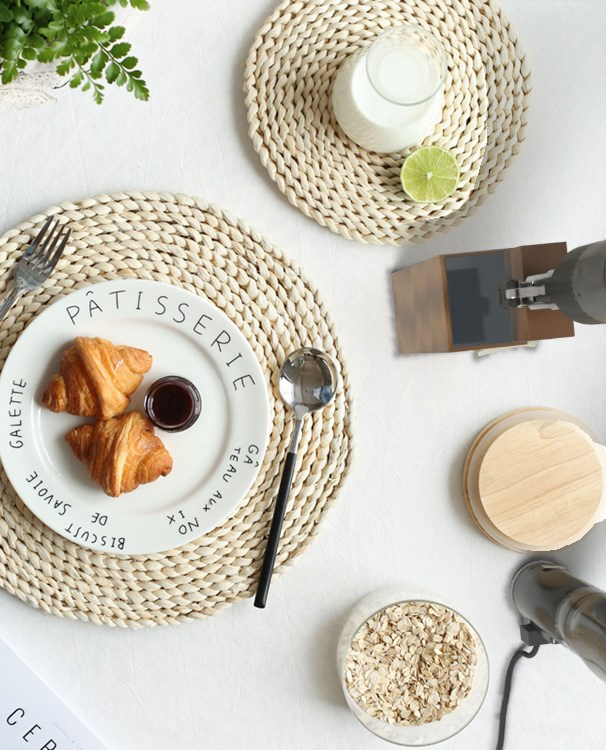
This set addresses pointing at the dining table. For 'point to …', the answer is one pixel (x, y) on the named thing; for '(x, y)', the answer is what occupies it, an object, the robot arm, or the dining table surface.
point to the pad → (476, 300)
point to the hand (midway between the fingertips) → (531, 295)
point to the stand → (428, 307)
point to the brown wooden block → (524, 319)
